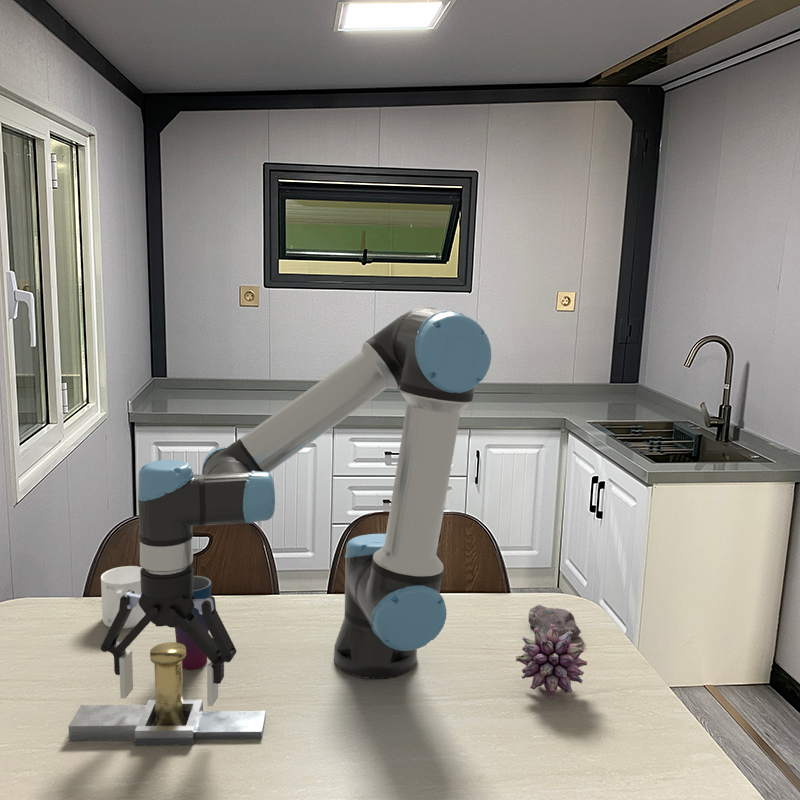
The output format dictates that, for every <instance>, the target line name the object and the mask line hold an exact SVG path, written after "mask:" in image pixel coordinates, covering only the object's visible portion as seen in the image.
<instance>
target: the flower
mask: <svg viewBox="0 0 800 800" xmlns="http://www.w3.org/2000/svg"><path fill="white" fill-rule="evenodd" d="M533 633H534V639H530V638H527V637H526V636H522V638H521V640H522V641H523V642H524V645H523V646H522V647H521V648H522V649H521V650H522V651H523V653H522V654H520V655H515V662H520V664H523V665H524V666H525V667H524V668H522V669H521V672H522V674H523V675H522V676H521V678H522V680H523V679H526V678H532V681H531V682H532V684H531V685H530V687H529V688H530V689H531V690H534V691H535V690H536V689H537V688H539V687H542V686H544V689H545V693H546V694H547V698H548V699H550V698H551V699H553V698H554V696H555V693H556V691H557V690H558V688H560V689H561V690H563V692H565V694H566V695H567V694H569V693H572V692H573V688H572V682H577V683H579V684H583V679H582V678H581V677H580V676H583V674H584V673H585V672H584V671H583V670H581V669H580V668H581V667H584V666H588V661H587V660H583V659H582V658H581V657H580V656H581V654H582V653H585V651H584V647H582V646H583V644H582V641H581V642H578V643H571V641H572V639H571V636H572V634H573V633H572V632H570V631H569V632H567V633H566V634H564V635H563V636H561V637H558V633H557V628H555V625H552V624H551V627H550V630H549V631H548V633H547V636H546V635H545V634H544V633H542V632H541V631H539V629H538V628H534V629H533Z"/></svg>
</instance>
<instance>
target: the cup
mask: <svg viewBox="0 0 800 800" xmlns="http://www.w3.org/2000/svg"><path fill="white" fill-rule="evenodd" d="M193 594H194V597H195V598H196V599H206V598H207V597H208V596H212V581H211V579H209V578H208V577H206V576H201V575H193ZM192 611H193V612H194V613H195V615H196V616H197V617H198V621H199V622H200V624H201V625H202V626H203V627H204V628H205V630H206V631H207V632H208V633H209V634H210V631H209V629H208V627H207V625H206V624H205V621H204V619H203V615H201V614H199V610H198V609H197V608H194V609H193V610H192ZM185 620H186V621H187V622H188V619H187V618H186V619H185ZM174 632H175V642H177V643H181V644H183V645H184V646H185V647H186V657H185V658H184V659H183V660H182V670H189V671H190V670H197V669H200V668H202V667H204V666H206V665H207V663H208V658H207V656H206V655H205V654H204V653H203V652H202V650H201V649H200V648H199V647H198V646H197V644H196V643H195V642H194V641H193V640H192V638H191V637H190V636H189V635H188V634H187V633H186V632H183V631H182V629H181V628H180V627H179V626H177V627H176V628H174Z"/></svg>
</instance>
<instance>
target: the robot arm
mask: <svg viewBox="0 0 800 800" xmlns="http://www.w3.org/2000/svg"><path fill="white" fill-rule="evenodd" d="M491 361H492V347H491V342H490V339H489V337H488V335H487V333H486V332H485V330H484V329H483V328H482V326H481V325H480V324H479V323H478V322H477V321H475V320H474V319H472V318H471V317H468V316H466V315H465V314H463V313H461V312H457V311H454V310H451V311H450V310H443V309H437V308H434V307H426V306H425V307H418V308H415V309H412V310H409V311H407V312H405V313H404V314H402V315H400V316H399V317H397V318H396V319H394V320H393V321H391V322H390V323H389V324H387V325H386V326H385V327H383V328H381V330H379V331H378V332H377V333H375V334H374V335H372V336H371V337H370V338H369V339H367V340H366V341H364V342H363V343H362V346H361V351H360V352H359V353H357V354H356V355H355V356H353V357H351V359H349V360H348V361H347V362H345V363H344V364H342V365H340V367H338V368H336V369H335V370H334V371H333V372H331V373H329V374H328V375H327V376H326V377H324V378H323V379H321V380H320V381H319V382H317V383H315V384H313V386H311V387H310V388H308V389H307V390H306V391H304V392H303V393H302V394H301V395H299V396H298V397H296V398H295V399H293V400H292V401H290V402H289V403H288V404H286V405H285V406H284V407H282V408H281V409H279V410H278V411H276V412H275V413H274V414H272V415H271V416H269V417H268V418H266V419H265V420H264V421H263V422H261V423H260V424H258V425H257V426H255V427H254V428H253V429H251V430H250V431H248V432H247V433H245V434H244V435H243V436H241V437H240V438H239V439H237V440H236V441H234V442H232V443H231V444H230V445H228V446H223V447H222V446H221V447H218V448H215V449H214V450H212V451H210V452H209V453H208V454H207V455H206V457H205V459H204V461H203V463H202V471H201V474H194V472H193V468H192V466H191V464H190V463H189V462H187V461H184V460H179V459H176V460H174V459H161V460H153V461H151V462H147V463H145V464H144V465H143V466H142V467H141V468H140V470H139V472H138V482H137V483H138V484H137V485H138V487H137V488H138V491H137V492H138V493H137V504H138V526H139V527H138V531H139V565H140V567H142V568H141V570H140V577H141V592H142V594H141V595H139V594H135V592H134V591H133V590H128V591H127V592H126V593H125V594H124V595H123V596H122V597H121V598H120V607H119V611H118V613H117V615H116V617H115V619H114V621H113V623H112V625H111V627H109V630H108V632H107V634H106V636H105V637H104V640H103V641H102V643H101V645H100V651H102V652H103V653H106V652H108V653H111V654H112V656H113V666H114V667H113V668H114V669H113V671H114V674H115V676H119V683H120V684H119V689H120V690H119V691H120V699H127V697H128V696H129V695H130V694H131V692H133V691H134V682H133V681H134V675H133V674H134V673H133V672H134V671H133V650H132V649H127V648H128V647H129V646H130V645H131V644H132V643H133V641H135V639H136V638H137V637H138V636H139V635H140V634H141V633H142V632H143V630H144V629H145V628H146V627H147V626H148V625H149V624H150V623H152V624H153V625H155V627H161V628H162V627H165V626H166V627H168V628H171V629H172V628H173V629H175V628H176V627H177V626H179V627H180V628H181V629H182V631H183V632H186V633H187V634H188V635H189V636H190V637H191V638H192V640H193V641H194V642H195V643H196V644H197V646H198V647H199V648H200V649H201V650H202V652H203V653H204V654H205V655H206V656H207V660H209V662H208V664H206V692H207V693H206V698H207V701H206V702H207V707H213V706H214V704H215V703H216V701H217V699H218V698H219V685H220V684H221V683H222V681H223V680H224V678H225V663H230V662H231V661H232V660H233V658H234V657H235V655H236V654H237V649H236V646H235V645H234V642H233V641H232V639H231V637H230V634H229V633H228V631H227V629H226V627H225V625H224V622H223V621H222V619H221V617H220V615H219V613H218V610H217V607H216V600H215V597H214V596H213V595H211V596H208V597H207V598H206V599H196V598H195V597H194V594H193V576H194V566H193V564H192V563H193V560H194V552H193V551H194V549H193V547H194V545H193V542H194V540H193V539H194V538H193V537H194V535H193V532H194V531H193V527H195V526H196V527H197V526H199V527H200V526H201V527H202V526H212V525H213V526H214V525H231V524H232V525H234V524H252V523H258V522H265V521H269V520H271V519H272V518H273V516H274V514H275V510H276V509H275V508H276V488H275V482H274V478H273V476H272V474H271V472H272V471H274V470H276V469H277V468H278V467H279V466H280V465H282V464H283V463H285V462H286V461H288V460H289V459H290V458H292V457H293V456H296V454H298V453H299V452H301V451H302V450H303V449H305V448H306V447H307V446H308V445H310V444H311V443H313V442H314V441H316V440H317V439H318V438H320V437H321V436H323V435H324V434H325V433H327V432H328V431H329V430H331V429H332V428H334V427H335V426H336V425H338V424H339V423H341V422H342V421H343V420H345V419H346V418H348V417H349V416H350V415H352V414H353V413H355V412H356V411H357V410H359V409H360V408H361V407H363V406H364V405H366V404H367V403H369V402H370V401H371V400H372V399H374V398H376V397H377V396H378V395H380V394H381V393H383V392H384V391H385V390H386V389H392V390H397V389H398V388H399V393H400V394H401V396H402V397H403V398H404V401H406V409H405V415H404V421H403V427H402V432H401V439H400V440H401V441H400V445H399V446H400V447H399V452H398V457H397V463H396V471H395V477H394V483H393V489H392V495H391V503H390V506H389V507H390V508H389V514H388V520H387V527H386V532H385V533H371V534H370V533H369V534H363V535H362V534H361V535H358V536H355V537H353V538H350V540H348V542H347V543H346V546H345V547H346V548H345V555H344V559H345V561H344V562H345V565H344V567H345V568H344V570H345V571H344V572H345V573H344V574H345V575H344V577H345V578H344V618H343V622H342V624H341V627H340V629H339V631H338V634H337V638H336V640H335V643H334V647H333V660H334V663H335V664H336V666H337V667H338V668H339V669H340V670H342V671H343V672H345V673H347V674H349V675H351V676H355V677H359V678H363V679H373V680H375V679H377V680H378V679H390V678H394V677H397V676H400V675H403V674H405V673H407V672H409V671H410V670H411V669H413V667H414V666H415V665H416V664H417V660H418V659H417V656H418V650H419V649H422V648H423V647H426V646H427V645H428V643H430V642H431V641H434V640H435V639H436V638H437V637H438V636H439V635H440V633H441V632H442V630H443V628H444V626H445V624H446V620H447V607H446V602H445V599H444V597H443V595H441V593H440V591H441V585H442V580H443V573H444V564H443V562H442V560H441V559H440V558H439V557H438V555H437V552H438V547H439V539H440V534H441V529H442V524H443V523H442V521H443V517H444V511H445V505H446V499H447V494H448V488H449V482H450V476H451V470H452V465H453V459H454V458H453V457H454V452H455V448H456V441H457V433H458V428H459V423H460V418H461V413H462V411H463V410H464V409H466V408H467V407H468V406H470V405H471V404H472V403H473V399H474V398H473V397H474V393H475V389H476V388H475V387H477V385H478V384H480V382H481V381H483V380H484V378H485V377H486V376H487V373H488V372H489V369H490V366H491ZM137 604H139V606H140V607H141V608H142V610H143V611H144V613H145V614H146V615H145V616H144V617H143V618H142V619H141V620H140V621H139V622H138V624H137V625H136V626H135V627H133V628H131V630H130V631H129V633H128V634H127V635H126V636H125V637H124V638H123V639H122V640H121V642H119V641H117V640H118V638H119V636H120V634H121V633H122V630H123V629H122V628H123V626H124V624H125V622H126V620H127V618H128V616H129V614H130V612H131V610H132V609H133V608H134V607H135V606H136V605H137ZM194 608H197V609H198V610H199V614H201V615H203V619H204V621H205V624H206V625H207V627H208V629H209V633H208V632H207V631H206V630H205V628H204V627H203V626H202V625H201V624H200V622H199V621H198V617H197V616H196V615H195V613H194V612H193V611H192V610H193V609H194ZM186 618H187V619H188V622H187V621H186V620H185V619H186Z"/></svg>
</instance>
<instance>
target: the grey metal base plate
mask: <svg viewBox="0 0 800 800" xmlns="http://www.w3.org/2000/svg"><path fill="white" fill-rule="evenodd" d="M266 717H267V716H266V710H210V711H209V710H207V711H206V710H204V700H203V698H201V699H200V698H199V699H198V698H197V699H183V719H184V718H186V719H188V720H187V722H186V725H183V726H156V725H153V724H154V722H155V720H156V706H155V699H148V701H147V703H146V704H80V706H79V708H78V709H77V711H76V713H75V714H74V716H73V718H72V720H71V721H70V723H69V725H68V726H67V727H68V741H69V742H76V741H80V742H81V741H83V742H85V741H87V742H90V741H92V742H93V741H94V742H95V741H134V742H135V744H134V746H136V747H139V746H141V747H142V746H144V747H145V746H193V745H194V742H195V740H256V739H257V740H262V739H263V734H264V730H265V729H264V728H265V723H266Z"/></svg>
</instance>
